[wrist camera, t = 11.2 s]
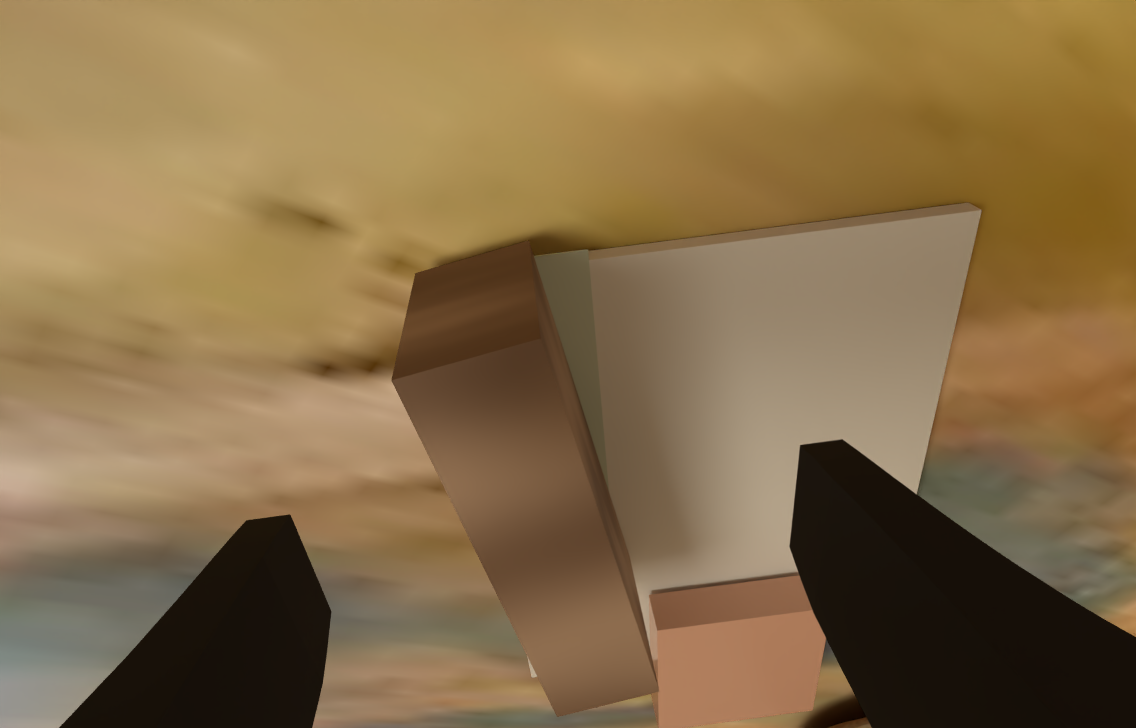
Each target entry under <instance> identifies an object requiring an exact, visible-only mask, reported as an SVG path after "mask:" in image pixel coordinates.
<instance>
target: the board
mask: <svg viewBox="0 0 1136 728" xmlns="http://www.w3.org/2000/svg"><path fill="white" fill-rule="evenodd" d="M981 211H982V210H981V209H979V208H977V207H975V206H974V205H972V204H970V203H961V204H953V205H946V206H938V207H930V208H922V209H914V210H906V211H898V212H891V213H883V214H875V215H867V216H859V217H851V218H843V219H836V220H828V221H820V222H812V223H804V224H796V225H788V226H781V227H773V228H765V229H757V230H749V231H741V232H733V233H726V234H718V235H710V236H702V237H694V238H686V239H678V240H670V241H663V242H655V243H647V244H639V245H631V246H623V247H615V248H608V249H600V250H592V251H588V249H583V250H576V251H568V252H560V253H552V254H544V255H536V256H534V258H535V261H536V265H537V268H538V271H539V274H540V277H541V280H542V283H543V287H544V290H545V293H546V296H547V299H548V302H549V305H550V308H551V312H552V315H553V318H554V321H555V324H556V327H557V330H558V334H559V337H560V340H561V343H562V346H563V349H564V352H565V356H566V359H567V362H568V365H569V368H570V371H571V374H572V377H573V381H574V384H575V387H576V390H577V393H578V396H579V399H580V403H581V406H582V409H583V412H584V415H585V418H586V421H587V424H588V428H589V431H590V434H591V437H592V440H593V443H594V446H595V450H596V453H597V456H598V459H599V462H600V465H601V468H602V472H603V475H604V478H605V481H606V484H607V487H608V490H609V493H610V497H611V500H612V503H613V506H614V509H615V512H616V515H617V519H618V522H619V525H620V528H621V531H622V534H623V537H624V540H625V544H626V547H627V550H628V553H629V556H630V560H631V565H632V569H633V574H634V578H635V583H636V587H637V592H638V596H639V601H640V605H641V610H642V614H643V619H644V623H645V628H646V632H647V637H648V641H649V646H650V628H649V595H651V594H659V593H666V592H674V591H682V590H689V589H697V588H705V587H713V586H720V585H728V584H736V583H743V582H751V581H759V580H767V579H774V578H782V577H790V576H798V575H799V573H798V570H797V567H796V564H795V561H794V559H793V556H792V553H791V550H790V547H789V546H790V536H791V527H792V517H793V508H794V498H795V488H796V479H797V469H798V460H799V450H800V445H803V444H811V443H818V442H825V441H833V440H840V439H843V440H844V441H846V442H847V443H848V444H850V445H851V446H853V447H854V448H855V449H857V450H858V451H859V452H861V453H862V454H863V455H865V456H866V457H867V458H869V459H870V460H871V461H873V462H874V463H875V464H877V465H878V466H879V467H881V468H882V469H883V470H885V471H886V472H887V473H889V474H890V475H891V476H893V477H894V478H895V479H897V480H898V481H899V482H901V483H902V484H903V485H905V486H906V487H907V488H909V489H910V490H911V491H913V492H914V493H916V494H917V490H918V486H919V482H920V477H921V473H922V469H923V464H924V460H925V455H926V451H927V447H928V442H929V438H930V434H931V429H932V425H933V421H934V416H935V412H936V407H937V403H938V399H939V394H940V390H941V386H942V381H943V377H944V373H945V368H946V364H947V360H948V355H949V351H950V346H951V342H952V338H953V333H954V329H955V325H956V320H957V316H958V312H959V307H960V303H961V298H962V294H963V290H964V285H965V281H966V277H967V272H968V268H969V264H970V259H971V255H972V250H973V246H974V242H975V237H976V233H977V229H978V224H979V220H980V216H981ZM528 662H529V667H530V672H531V677H537V675H536V673H535V671H534V669H533V667H532V665H531V663H530V661H529V659H528Z"/></svg>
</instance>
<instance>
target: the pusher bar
mask: <svg viewBox="0 0 1136 728" xmlns="http://www.w3.org/2000/svg"><path fill="white" fill-rule="evenodd" d="M392 382H393V384H394V386H395V389H396V391H397V393H398V395H399V397H400V399H401V401H402V403H403V405H404V407H405V409H406V411H407V413H408V415H409V417H410V419H411V421H412V423H413V425H414V427H415V429H416V431H417V433H418V435H419V437H420V439H421V441H422V443H423V445H424V447H425V449H426V451H427V454H428V456H429V458H430V460H431V462H432V464H433V466H434V468H435V470H436V472H437V474H438V476H439V478H440V480H441V482H442V484H443V486H444V488H445V490H446V492H447V494H448V496H449V498H450V500H451V502H452V504H453V506H454V508H455V510H456V512H457V514H458V516H459V518H460V521H461V523H462V525H463V527H464V529H465V531H466V533H467V535H468V537H469V539H470V541H471V543H472V545H473V547H474V549H475V551H476V553H477V555H478V557H479V559H480V561H481V563H482V565H483V567H484V569H485V571H486V573H487V575H488V577H489V579H490V581H491V583H492V585H493V588H494V590H495V592H496V594H497V596H498V598H499V600H500V602H501V604H502V606H503V608H504V610H505V612H506V614H507V616H508V618H509V620H510V622H511V624H512V626H513V628H514V630H515V632H516V634H517V636H518V638H519V640H520V642H521V644H522V646H523V648H524V650H525V653H526V655H527V657H528V659H529V661H530V663H531V665H532V667H533V669H534V671H535V673H536V675H537V677H538V679H539V681H540V683H541V685H542V687H543V689H544V691H545V693H546V695H547V697H548V699H549V701H550V703H551V705H552V707H553V709H554V711H555V713H556V715H557V717H559V716H563V715H567V714H571V713H575V712H579V711H583V710H587V709H591V708H595V707H599V706H603V705H607V704H611V703H615V702H619V701H623V700H628V699H632V698H636V697H640V696H644V695H648V694H652V693H656V692H660V691H659V687H658V682H657V678H656V673H655V669H654V664H653V660H652V655H651V651H650V646H649V641H648V637H647V632H646V628H645V623H644V619H643V614H642V610H641V605H640V601H639V596H638V592H637V587H636V583H635V578H634V574H633V569H632V565H631V560H630V556H629V553H628V550H627V547H626V544H625V540H624V537H623V534H622V531H621V528H620V525H619V522H618V519H617V515H616V512H615V509H614V506H613V503H612V500H611V497H610V493H609V490H608V487H607V484H606V481H605V478H604V475H603V472H602V468H601V465H600V462H599V459H598V456H597V453H596V450H595V446H594V443H593V440H592V437H591V434H590V431H589V428H588V424H587V421H586V418H585V415H584V412H583V409H582V406H581V403H580V399H579V396H578V393H577V390H576V387H575V384H574V381H573V377H572V374H571V371H570V368H569V365H568V362H567V359H566V356H565V352H564V349H563V346H562V343H561V340H560V337H559V334H558V330H557V327H556V324H555V321H554V318H553V315H552V312H551V308H550V305H549V302H548V299H547V296H546V293H545V290H544V287H543V283H542V280H541V277H540V274H539V271H538V268H537V265H536V261H535V258H534V255H533V252H532V249H531V246H530V243H529V240H528V241H525V242H522V243H518V244H515V245H511V246H508V247H504V248H501V249H497V250H494V251H491V252H487V253H484V254H480V255H477V256H473V257H470V258H466V259H463V260H460V261H456V262H453V263H449V264H446V265H442V266H439V267H435V268H432V269H429V270H425V271H422V272H418V273H415V278H414V282H413V287H412V291H411V296H410V300H409V305H408V309H407V313H406V318H405V322H404V327H403V331H402V336H401V340H400V345H399V349H398V354H397V358H396V363H395V367H394V371H393V376H392Z"/></svg>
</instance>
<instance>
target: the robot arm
mask: <svg viewBox="0 0 1136 728" xmlns="http://www.w3.org/2000/svg"><path fill="white" fill-rule="evenodd" d="M789 547H790V550H791V553H792V556H793V559H794V561H795V564H796V567H797V570H798V573H799V576H800V578H801V581H802V584H803V587H804V589H805V592H806V595H807V597H808V600H809V602H810V605H811V608H812V610H813V613H814V615H815V617H816V619H817V621H818V623H819V625H820V627H821V629H822V631H823V633H824V635H825V637H826V639H827V641H828V643H829V645H830V647H831V649H832V651H833V653H834V655H835V657H836V659H837V661H838V663H839V665H840V667H841V669H842V671H843V673H844V675H845V676H846V678H847V680H848V682H849V684H850V686H851V688H852V690H853V692H854V694H855V696H856V698H857V700H858V702H859V704H860V706H861V708H862V710H863V712H864V713H865V715H866V717H867V719H868V721H869V723H870V725H871V727H872V728H1136V637H1134V636H1133V635H1131V634H1129V633H1127V632H1126V631H1124V630H1122V629H1120V628H1119V627H1117V626H1115V625H1113V624H1111V623H1110V622H1108V621H1106V620H1104V619H1103V618H1101V617H1099V616H1098V615H1096V614H1094V613H1093V612H1091V611H1089V610H1088V609H1086V608H1084V607H1083V606H1081V605H1079V604H1078V603H1076V602H1074V601H1073V600H1071V599H1070V598H1068V597H1066V596H1065V595H1063V594H1062V593H1060V592H1058V591H1057V590H1055V589H1054V588H1052V587H1051V586H1049V585H1048V584H1046V583H1044V582H1043V581H1041V580H1040V579H1038V578H1037V577H1035V576H1034V575H1032V574H1030V573H1029V572H1027V571H1026V570H1024V569H1023V568H1021V567H1019V566H1018V565H1016V564H1015V563H1013V562H1012V561H1010V560H1009V559H1007V558H1006V557H1004V556H1003V555H1001V554H1000V553H999V552H997V551H996V550H994V549H993V548H991V547H990V546H988V545H987V544H985V543H984V542H982V541H981V540H980V539H978V538H977V537H975V536H974V535H972V534H971V533H969V532H968V531H967V530H965V529H964V528H962V527H961V526H960V525H958V524H957V523H955V522H954V521H953V520H951V519H950V518H948V517H947V516H946V515H944V514H943V513H941V512H940V511H939V510H937V509H936V508H935V507H933V506H932V505H930V504H929V503H928V502H926V501H925V500H924V499H922V498H921V497H920V496H918V495H917V494H916V493H914V492H913V491H911V490H910V489H909V488H907V487H906V486H905V485H903V484H902V483H901V482H899V481H898V480H897V479H895V478H894V477H893V476H891V475H890V474H889V473H887V472H886V471H885V470H883V469H882V468H881V467H879V466H878V465H877V464H875V463H874V462H873V461H871V460H870V459H869V458H867V457H866V456H865V455H863V454H862V453H861V452H859V451H858V450H857V449H855V448H854V447H853V446H851V445H850V444H848V443H847V442H846V441H844V440H843V439H840V440H833V441H825V442H818V443H811V444H803V445H800V450H799V460H798V469H797V479H796V488H795V498H794V508H793V517H792V527H791V536H790V546H789ZM330 619H331V610H330V607H329V605H328V602H327V600H326V598H325V595H324V593H323V591H322V588H321V586H320V584H319V581H318V579H317V576H316V574H315V572H314V569H313V567H312V565H311V562H310V560H309V558H308V555H307V553H306V550H305V548H304V546H303V543H302V541H301V539H300V536H299V534H298V532H297V529H296V527H295V524H294V522H293V520H292V517H291V515H283V516H275V517H268V518H261V519H253V520H246V521H245V523H244V524H243V525H242V526H241V527H240V528H239V529H238V530H237V531H236V532H235V534H234V535H233V536H232V537H231V538H230V539H229V540H228V541H227V543H226V544H225V545H224V546H223V547H222V548H221V550H220V551H219V552H218V553H217V554H216V555H215V556H214V558H213V559H212V560H211V561H210V562H209V563H208V565H207V566H206V567H205V568H204V569H203V570H202V572H201V573H200V574H199V575H198V576H197V577H196V579H195V580H194V581H193V582H192V583H191V584H190V586H189V587H188V588H187V589H186V590H185V591H184V593H183V594H182V595H181V596H180V597H179V598H178V599H177V601H176V602H175V603H174V604H173V605H172V606H171V607H170V608H169V610H168V611H167V612H166V613H165V614H164V615H163V616H162V618H161V619H160V620H159V621H158V622H157V623H156V624H155V625H154V627H153V628H152V629H151V630H150V631H149V632H148V633H147V634H146V636H145V637H144V638H143V639H142V640H141V641H140V642H139V644H138V645H137V646H136V647H135V648H134V649H133V650H132V651H131V653H130V654H129V655H128V656H127V657H126V658H125V659H124V660H123V661H122V662H121V663H120V664H119V665H118V666H117V667H116V669H115V670H114V671H113V672H112V673H111V674H110V675H109V676H108V677H107V678H106V679H105V680H104V681H103V682H102V683H101V684H100V685H99V686H98V687H97V688H96V690H95V691H94V692H93V693H92V694H91V695H90V696H89V697H88V698H87V699H86V700H85V701H84V702H83V703H82V704H81V705H80V706H79V707H78V708H77V710H76V711H75V712H74V713H73V714H72V715H71V716H70V717H69V718H68V719H67V720H66V721H65V722H64V723H63V724H62V725H61V726H60V727H59V728H312V726H313V722H314V718H315V714H316V709H317V705H318V701H319V697H320V693H321V688H322V684H323V677H324V670H325V662H326V655H327V647H328V637H329V628H330Z"/></svg>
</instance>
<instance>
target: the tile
mask: <svg viewBox="0 0 1136 728" xmlns="http://www.w3.org/2000/svg"><path fill="white" fill-rule="evenodd" d="M649 628H650V651H651V655H652V660H653V664H654V669H655V673H656V678H657V682H658V687H659V691H660V692H656V693H652V694H651V697H652V701H653V706H654V711H655V716H656V720H657V725H658V728H686V727H694V726H701V725H708V724H715V723H723V722H730V721H737V720H745V719H752V718H759V717H767V716H774V715H781V714H788V713H796V712H803V711H810V710H813V705H814V700H815V694H816V689H817V684H818V678H819V673H820V668H821V662H822V657H823V652H824V646H825V641H826V637H825V635H824V633H823V631H822V629H821V627H820V625H819V623H818V621H817V619H816V617H815V615H814V613H813V610H812V608H811V605H810V602H809V600H808V597H807V595H806V592H805V589H804V587H803V584H802V581H801V578H800V576H799V575H798V576H790V577H782V578H774V579H767V580H759V581H751V582H743V583H736V584H728V585H720V586H713V587H705V588H697V589H689V590H682V591H674V592H666V593H659V594H651V595H649Z"/></svg>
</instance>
